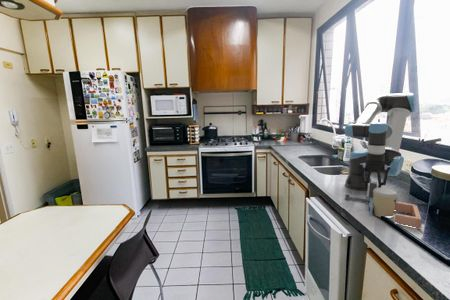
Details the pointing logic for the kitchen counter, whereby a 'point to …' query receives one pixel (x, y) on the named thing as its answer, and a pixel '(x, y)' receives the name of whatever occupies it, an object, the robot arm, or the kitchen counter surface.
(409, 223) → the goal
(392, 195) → the coffee cup
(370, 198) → the pusher
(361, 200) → the rail
